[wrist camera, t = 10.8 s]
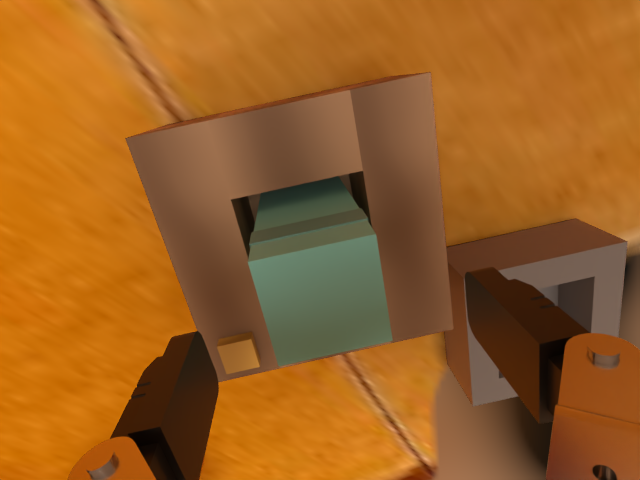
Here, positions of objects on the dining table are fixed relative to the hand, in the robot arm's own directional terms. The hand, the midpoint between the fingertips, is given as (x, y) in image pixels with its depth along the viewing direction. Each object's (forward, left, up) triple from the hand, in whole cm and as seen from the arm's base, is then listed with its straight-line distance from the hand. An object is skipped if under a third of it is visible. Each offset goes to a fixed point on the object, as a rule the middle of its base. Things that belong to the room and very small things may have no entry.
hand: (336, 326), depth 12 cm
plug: (0, 0, -11) cm, 11 cm away
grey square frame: (-12, +9, -12) cm, 19 cm away
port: (0, 0, -12) cm, 12 cm away
